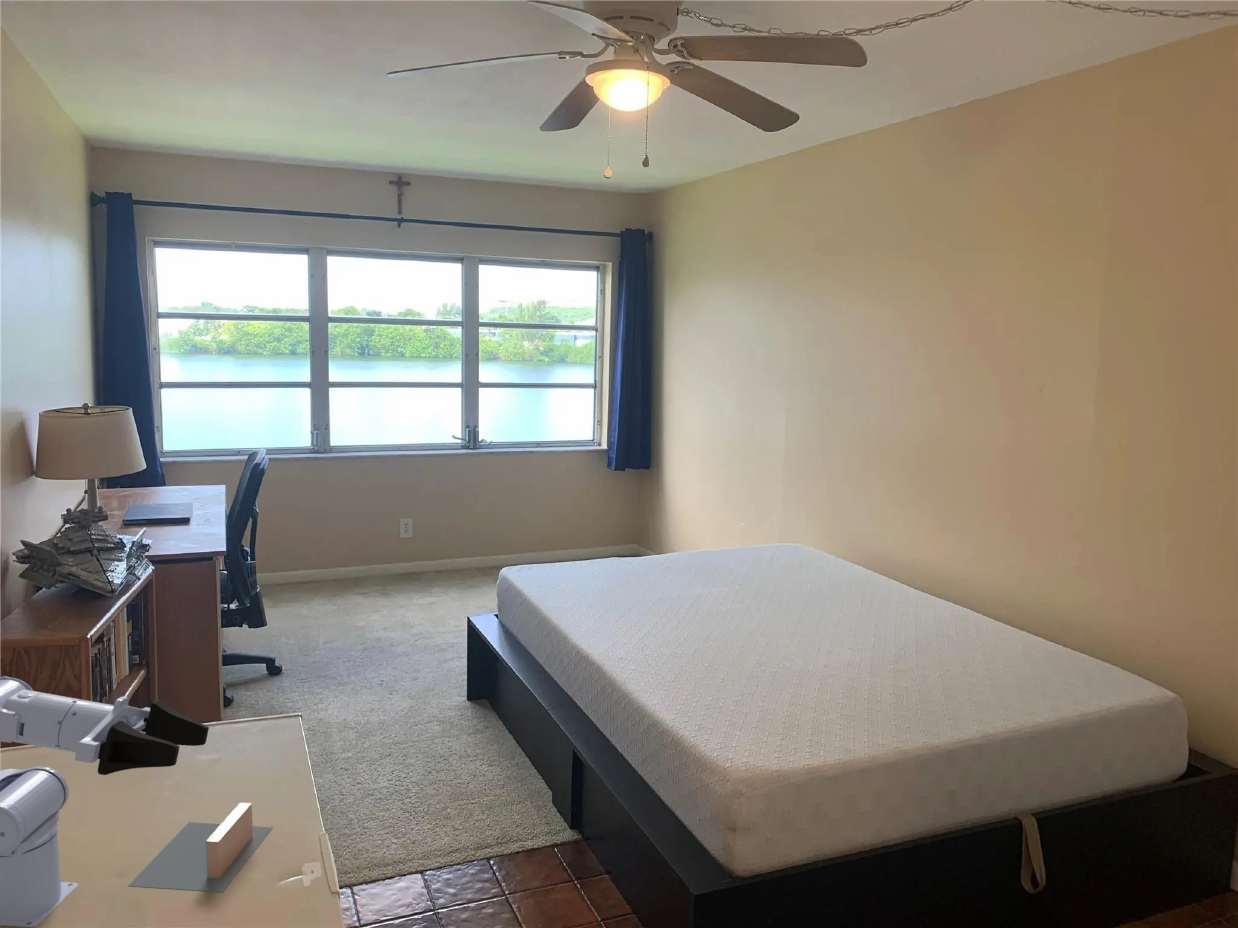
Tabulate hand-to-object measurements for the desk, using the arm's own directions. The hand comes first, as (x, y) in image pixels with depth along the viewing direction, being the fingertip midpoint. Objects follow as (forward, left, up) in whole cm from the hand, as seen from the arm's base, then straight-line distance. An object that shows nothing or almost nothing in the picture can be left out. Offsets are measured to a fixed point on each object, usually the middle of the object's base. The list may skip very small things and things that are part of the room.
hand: (192, 745), depth 100 cm
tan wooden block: (-1, +10, -21) cm, 23 cm away
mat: (-4, +10, -21) cm, 24 cm away
